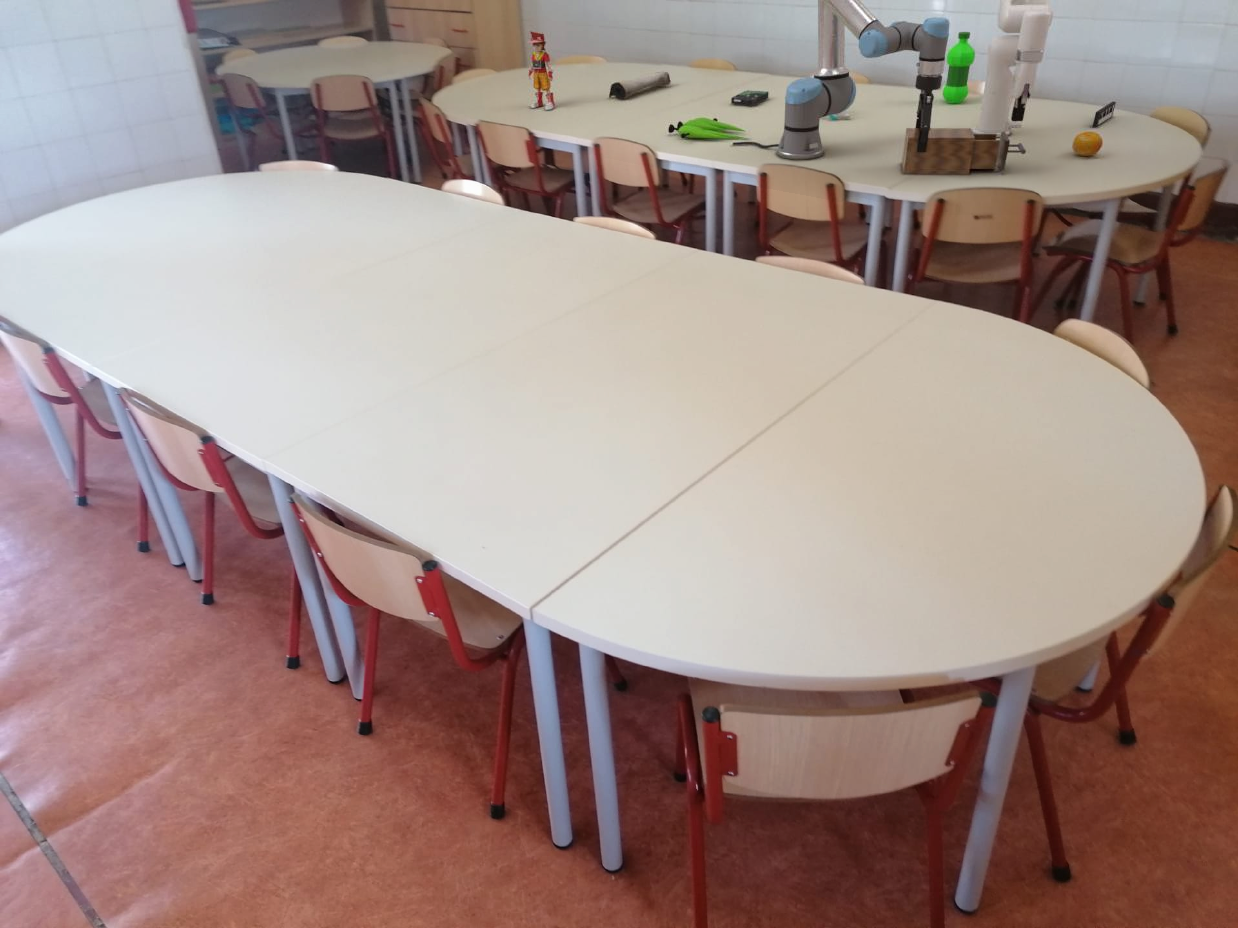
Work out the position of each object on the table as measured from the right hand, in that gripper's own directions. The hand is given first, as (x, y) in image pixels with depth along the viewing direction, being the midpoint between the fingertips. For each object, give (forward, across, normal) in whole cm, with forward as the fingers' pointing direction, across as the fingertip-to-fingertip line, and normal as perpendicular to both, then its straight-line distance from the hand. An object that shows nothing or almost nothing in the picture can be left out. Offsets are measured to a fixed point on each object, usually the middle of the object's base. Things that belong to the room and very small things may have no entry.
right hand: (1016, 120), depth 275 cm
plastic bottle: (+15, -87, -8) cm, 89 cm away
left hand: (+8, 0, -28) cm, 29 cm away
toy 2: (+15, -39, -98) cm, 107 cm away
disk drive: (+15, -90, -88) cm, 127 cm away
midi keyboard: (+15, -57, +40) cm, 72 cm away
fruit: (+15, -16, +26) cm, 34 cm away
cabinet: (+15, 0, -22) cm, 27 cm away
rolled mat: (+15, -109, -138) cm, 176 cm away
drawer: (+14, 0, -8) cm, 16 cm away
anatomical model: (+15, -67, -55) cm, 88 cm away
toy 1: (+15, -82, -176) cm, 195 cm away
